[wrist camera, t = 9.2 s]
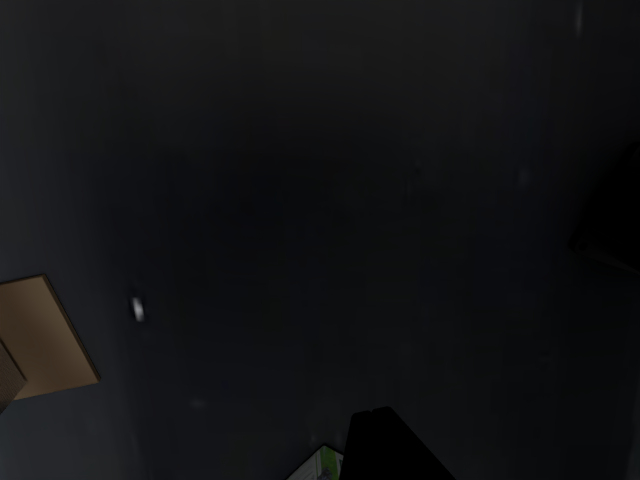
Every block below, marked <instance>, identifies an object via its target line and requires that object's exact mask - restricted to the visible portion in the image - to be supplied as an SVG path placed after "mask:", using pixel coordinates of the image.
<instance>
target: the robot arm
mask: <svg viewBox="0 0 640 480" xmlns="http://www.w3.org/2000/svg"><path fill="white" fill-rule="evenodd" d="M639 152H640V142H637V143H635V144H633V145H632V146H631V147H630V149H629V150H628V152H627V153H626V155H625V157H624V158H623V160H622V161H621V163H620V165H619V166H618V168H617V169H616V171H615V173H614V174H613V176H612V177H611V179H610V181H609V182H608V184H607V185H606V187H605V188H604V190H603V192H602V193H601V195H600V196H599V198H598V200H597V201H596V203H595V204H594V206H593V208H592V209H591V211H590V212H589V214H588V216H587V217H586V219H585V220H584V222H583V223H582V225H581V227H580V228H579V230H578V231H577V233H576V235H575V236H574V238H573V239H572V241H571V243H570V249H571V250H572V251H574V252H575V253H577V254H579V255H582V256H585V257H588V258H591V259H594V260H597V261H600V262H603V263H606V264H609V265H612V266H615V267H618V268H621V269H624V270H627V271H630V272H633V273H636V274H639V275H640V155H639ZM581 243H582V245H581V246H580V244H581ZM579 246H580V247H579ZM339 480H456V479H455V478H454V477H453V476H452V475H451V474H450V472H449V471H448V470H447V469H446V468H445V467H444V466H443V465H442V464H441V462H440V461H439V460H438V459H437V458H436V457H435V456H434V455H433V454H432V452H431V451H430V450H429V449H428V448H427V447H426V446H425V445H424V444H423V442H422V441H421V440H420V439H419V438H418V437H417V436H416V435H415V434H414V432H413V431H412V430H411V429H410V428H409V427H408V426H407V425H406V424H405V422H404V421H403V420H402V419H401V418H400V417H399V416H398V415H397V414H396V412H395V411H394V410H393V409H392V408H391V407H388V406H386V407H381V408H377V409H373V410H372V413H371V412H370V411H363V412H358V413H354V414H353V415H352V417H351V422H350V427H349V432H348V436H347V441H346V446H345V451H344V456H343V461H342V465H341V470H340V475H339Z"/></svg>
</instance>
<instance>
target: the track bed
mask: <svg viewBox="0 0 640 480" xmlns="http://www.w3.org/2000/svg"><path fill="white" fill-rule="evenodd" d="M0 342H1V344H2V346H3V347H4V349H5V350H6V352H7V353H8V355H9V357H10V358H11V360H12V361H13V363H14V364H15V366H16V368H17V369H18V371H19V372H20V374H21V375H22V377H23V379H24V380H25V382H26V383H27V384H26V385H25V386H24V387H23V388H22V390H21V391H20V392H19V393H18V394H17V396H16V397H15V398H14V399H13V400H17V399H22V398H26V397H31V396H36V395H41V394H46V393H51V392H55V391H60V390H65V389H70V388H75V387H79V386H84V385H89V384H94V383H99V381H100V379H101V378H100V377H99V375H98V373H97V371H96V369H95V367H94V365H93V363H92V361H91V360H90V358H89V356H88V354H87V352H86V350H85V348H84V346H83V345H82V343H81V341H80V339H79V337H78V335H77V333H76V331H75V330H74V328H73V326H72V324H71V322H70V320H69V318H68V316H67V315H66V313H65V311H64V309H63V307H62V305H61V303H60V301H59V300H58V298H57V296H56V294H55V292H54V290H53V288H52V286H51V285H50V283H49V281H48V279H47V277H46V275H45V274H43V275H38V276H33V277H28V278H23V279H18V280H13V281H8V282H4V283H0Z"/></svg>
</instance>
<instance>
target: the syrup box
mask: <svg viewBox="0 0 640 480" xmlns="http://www.w3.org/2000/svg"><path fill="white" fill-rule="evenodd" d="M342 461H343V455H341V454H339V453H337V452H335V451H333V450H332V449H330V448H328V447H326V446H322V447H321V448H320V449H319V450H318V451H317V452H316V453H315V454H314V455H313V456H311V457H310V458H309V459H308V460H307V461H306V462H305V463H304V464H303V465H302V466H300V467H299V468H298V469H297V470H296V471H295V472H294V473H293V474H292V475H291V476H290V477H289V478H288V479H287V480H339V475H340V470H341V465H342Z"/></svg>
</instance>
